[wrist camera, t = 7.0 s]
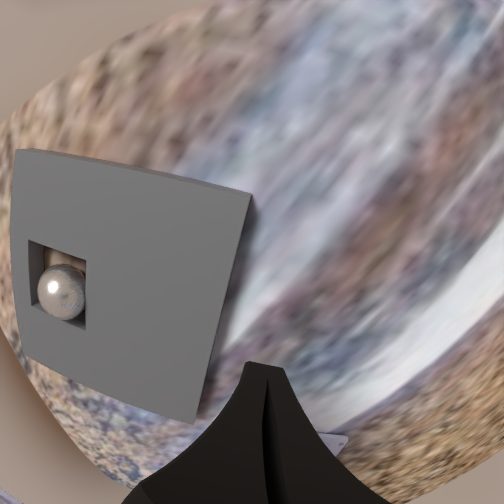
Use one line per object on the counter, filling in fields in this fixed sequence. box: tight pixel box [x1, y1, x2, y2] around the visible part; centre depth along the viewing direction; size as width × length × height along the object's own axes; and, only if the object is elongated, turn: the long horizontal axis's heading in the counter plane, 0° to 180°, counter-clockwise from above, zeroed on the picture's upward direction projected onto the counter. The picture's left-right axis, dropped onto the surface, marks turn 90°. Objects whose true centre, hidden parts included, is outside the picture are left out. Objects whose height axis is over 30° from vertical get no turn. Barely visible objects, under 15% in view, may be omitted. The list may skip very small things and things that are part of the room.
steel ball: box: [37, 263, 86, 320], centre depth 18 cm, size 4×4×4 cm
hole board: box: [10, 148, 252, 425], centre depth 19 cm, size 18×17×2 cm
